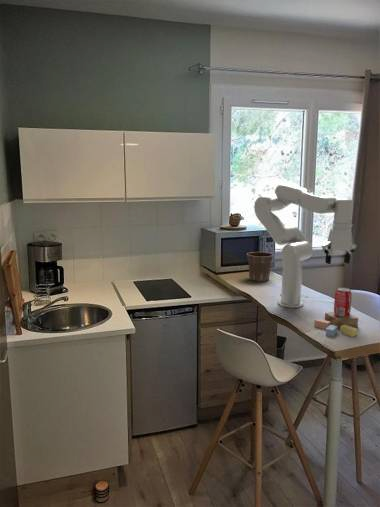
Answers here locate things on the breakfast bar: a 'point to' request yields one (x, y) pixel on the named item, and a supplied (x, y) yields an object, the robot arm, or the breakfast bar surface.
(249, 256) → the plant pot
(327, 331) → the slate brick
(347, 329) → the mustard brick
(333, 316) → the tan flat block
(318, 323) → the terracotta brick
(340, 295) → the soda can
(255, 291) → the breakfast bar surface
